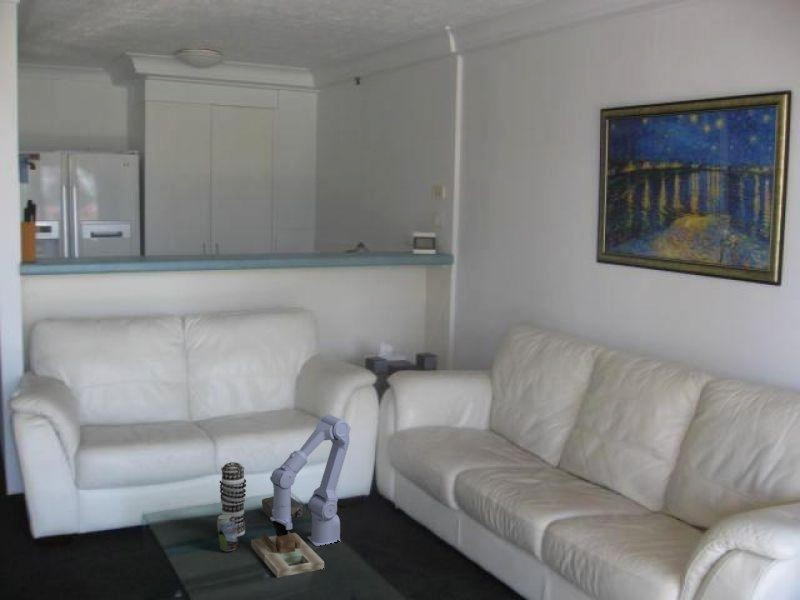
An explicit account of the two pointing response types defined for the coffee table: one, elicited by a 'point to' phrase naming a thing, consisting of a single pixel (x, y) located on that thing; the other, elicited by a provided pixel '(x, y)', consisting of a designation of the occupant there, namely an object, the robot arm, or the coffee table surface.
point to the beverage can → (227, 532)
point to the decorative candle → (233, 494)
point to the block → (285, 544)
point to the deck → (287, 556)
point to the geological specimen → (269, 505)
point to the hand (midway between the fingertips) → (281, 542)
